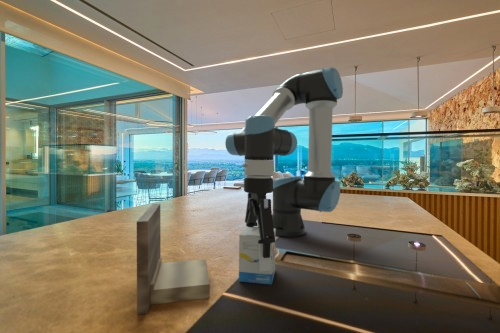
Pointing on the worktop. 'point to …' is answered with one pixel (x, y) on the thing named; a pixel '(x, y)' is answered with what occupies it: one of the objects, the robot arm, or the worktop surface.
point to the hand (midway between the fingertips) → (257, 259)
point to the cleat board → (164, 269)
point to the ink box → (253, 258)
